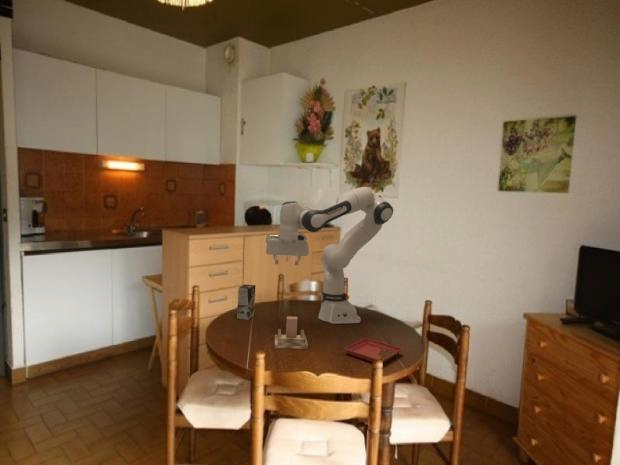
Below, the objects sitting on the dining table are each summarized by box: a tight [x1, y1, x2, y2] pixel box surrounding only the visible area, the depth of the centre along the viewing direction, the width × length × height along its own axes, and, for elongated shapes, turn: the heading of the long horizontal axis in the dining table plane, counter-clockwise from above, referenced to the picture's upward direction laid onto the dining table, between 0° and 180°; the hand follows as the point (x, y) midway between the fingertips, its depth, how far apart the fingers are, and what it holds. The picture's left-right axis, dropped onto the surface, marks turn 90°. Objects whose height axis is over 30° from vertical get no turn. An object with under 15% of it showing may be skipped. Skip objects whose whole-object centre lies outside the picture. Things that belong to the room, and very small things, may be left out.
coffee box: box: [236, 284, 257, 321], centre depth 211 cm, size 9×6×16 cm
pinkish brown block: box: [285, 315, 298, 338], centre depth 178 cm, size 4×4×10 cm
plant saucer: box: [344, 337, 403, 363], centre depth 171 cm, size 18×18×3 cm
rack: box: [274, 328, 309, 350], centre depth 179 cm, size 14×13×4 cm
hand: (286, 264), depth 195 cm, fingers open, 8 cm apart
